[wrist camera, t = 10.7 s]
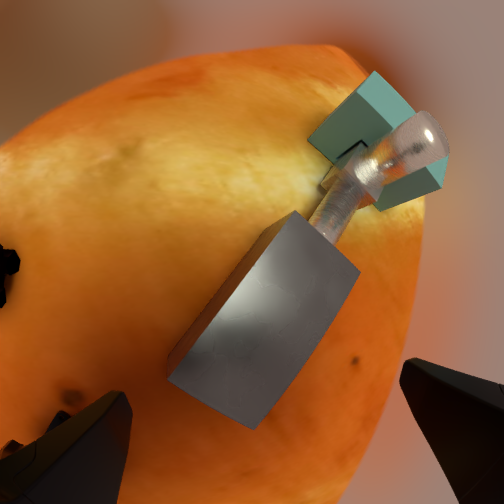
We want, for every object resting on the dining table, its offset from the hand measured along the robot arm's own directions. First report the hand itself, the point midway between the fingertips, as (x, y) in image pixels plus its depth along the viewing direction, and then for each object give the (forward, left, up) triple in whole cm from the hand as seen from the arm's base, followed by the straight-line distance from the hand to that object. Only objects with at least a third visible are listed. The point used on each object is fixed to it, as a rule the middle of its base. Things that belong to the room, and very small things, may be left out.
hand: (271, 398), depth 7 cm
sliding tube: (+12, -2, -11) cm, 16 cm away
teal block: (+21, -1, -12) cm, 24 cm away
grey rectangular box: (+3, -1, -12) cm, 13 cm away
